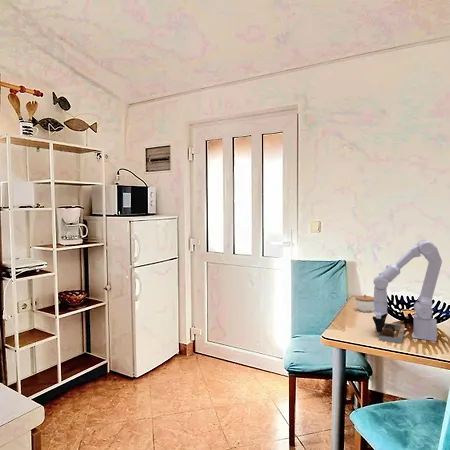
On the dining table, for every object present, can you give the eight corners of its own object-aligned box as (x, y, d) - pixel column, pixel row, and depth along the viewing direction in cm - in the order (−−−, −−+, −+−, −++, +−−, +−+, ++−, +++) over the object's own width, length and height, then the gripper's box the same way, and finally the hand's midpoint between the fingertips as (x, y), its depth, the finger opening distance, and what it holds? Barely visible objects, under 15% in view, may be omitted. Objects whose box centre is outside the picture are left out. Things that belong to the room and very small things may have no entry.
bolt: (392, 334, 174) (389, 343, 160) (382, 328, 176) (378, 336, 163) (398, 325, 172) (396, 333, 159) (388, 318, 174) (385, 326, 161)
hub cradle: (404, 329, 175) (404, 323, 175) (401, 343, 156) (401, 337, 156) (383, 326, 179) (384, 321, 179) (378, 340, 161) (378, 333, 161)
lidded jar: (351, 309, 212) (351, 293, 212) (364, 307, 217) (364, 292, 216) (365, 314, 202) (365, 297, 202) (379, 311, 207) (379, 295, 207)
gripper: (373, 297, 178) (373, 324, 178) (369, 303, 165) (369, 333, 166) (389, 299, 175) (388, 326, 175) (385, 305, 162) (385, 335, 162)
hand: (380, 329), depth 170 cm, fingers open, 7 cm apart
